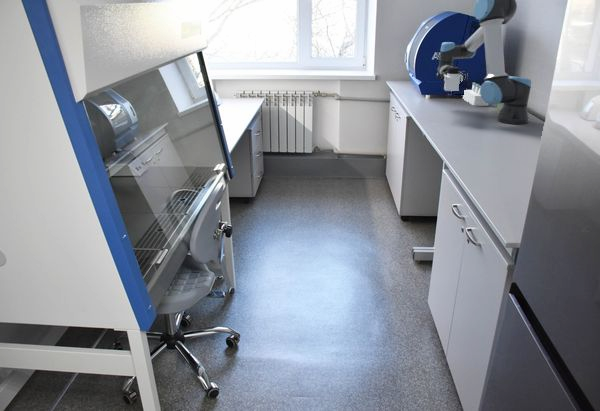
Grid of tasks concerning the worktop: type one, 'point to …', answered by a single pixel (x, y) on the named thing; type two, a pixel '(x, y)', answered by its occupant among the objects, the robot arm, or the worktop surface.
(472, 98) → the tube rack
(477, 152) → the worktop surface
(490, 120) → the worktop surface
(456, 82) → the medicine bottle
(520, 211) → the worktop surface
